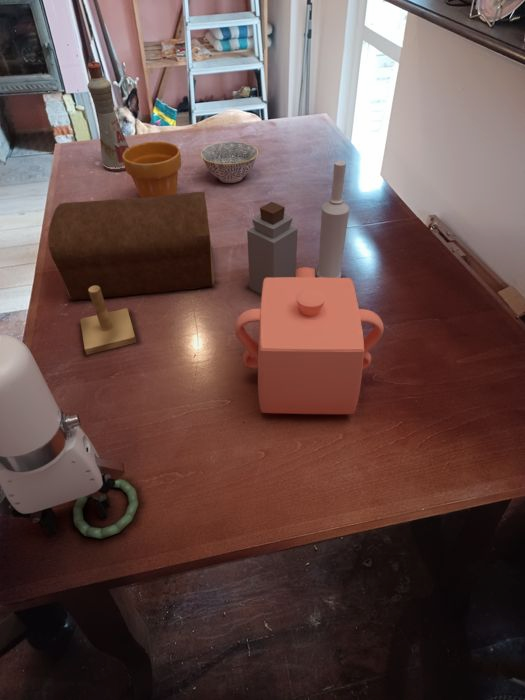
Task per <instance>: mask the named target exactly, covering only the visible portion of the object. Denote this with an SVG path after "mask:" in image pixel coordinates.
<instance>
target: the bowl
mask: <svg viewBox="0 0 525 700" xmlns="http://www.w3.org/2000/svg"><path fill="white" fill-rule="evenodd" d="M199 155H200V157H201V159H202V160H203V162H204V164H205V167H206V168H207V170H208V171H209V173H211V175H213V176H214V177H216V178H217V179H218V180H219V181H220V182H222V183H224V184H225V183H226V184H234V183H235V184H236V183H238V182H241V181H242V180H243V178H244V177H246V176H247V175H249V173H250V172H251V171H252V169H253V167H254V164H255V162H256V159H257V157H258V155H259V150H258V148H257V147H255V146H254V145H252V144H250V143H247V142H241V141H219V142H215V143H211V144H209V145H207V146H205V147H204V148H203V149H201V151H200V153H199Z"/></svg>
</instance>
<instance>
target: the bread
mask: <svg viewBox="0 0 525 700" xmlns="http://www.w3.org/2000/svg"><path fill="white" fill-rule="evenodd" d="M47 239H48V242H47V243H48V250H49V252H50V257H51V259H52V261H53V263H54V265H55V266H56V269H57V270H58V272H59V274H60V276H61V278H62V281H63V283H64V286H65V289H66V292H67V294H68V295H67V296H69V298H70V300H71V301H80V300H81V301H83V300H91V297H90V294H89V291H88V289H89V288H90V287H91V286H99V287H100V289H101V292H102V295H103V298H112V297H124V296H126V297H127V296H134V295H143V294H154V293H155V294H156V293H165V292H166V293H167V292H173V291H180V290H181V291H183V290H193V289H202V288H208V287H210V288H211V287H214V284H215V281H216V278H215V277H216V276H215V268H214V260H213V249H212V241H211V232H210V224H209V215H208V207H207V199H206V193H205V191H193V192H185V193H176V194H175V195H166V196H157V197H146V198H141V197H132V198H124V199H120V198H119V199H117V198H116V199H115V198H114V199H113V198H112V199H103V200H88V201H73V202H62V203H59V204H58V205H57V206H56V208H55V210H54V211H53V214H52V216H51V221H50V223H49V229H48V234H47Z"/></svg>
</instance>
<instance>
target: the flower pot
mask: <svg viewBox="0 0 525 700" xmlns="http://www.w3.org/2000/svg"><path fill="white" fill-rule="evenodd" d="M122 157H123V161H124V165H125V171H126V173H127V174H128V175H129V176H130V177H131V179H132V181H133V184H134V186H135V188H136V190H137V193H138V195H139V198H146V197H157V196H166V195H175V194H178V192H177V191H178V179H179V178H178V177H179V171H180V169H181V167H182V156H181V150H180V148H179V147H178V146H177V145H176V144H173V143H171V142H166V141H146V142H142V143H137V144H135V145H132V146H129V148H128V149H127V150H125V151H124V153H123V155H122Z"/></svg>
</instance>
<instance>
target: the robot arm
mask: <svg viewBox="0 0 525 700" xmlns="http://www.w3.org/2000/svg"><path fill="white" fill-rule="evenodd" d="M80 426H82V425H81V419H80V417H79V414H78V413H76V414H72V415H71V414H66V413H64V412H63V410H62V407H59V405H58V403H57V402H56V399H55V398H54V395H53V393H52V392H51V389H50V387H49V386H48V383H47V382H46V380H45V378H44V375H43V374H42V372H41V369H40V367H39V366H38V363H37V361H36V360H35V357H34V355H33V353H32V352H31V350H30V349H29V347H28V346H27V345H26V344H25V343H24V342H23V341H22V340H20V339H19V338H17V337H15V336H11V335H8V334H3V333H0V488H1V490H2V491H1V492H0V515H2V516H3V515H4V516H10V515H12V517H13V518H19V519H20V518H22V519H29V522H30V523H33V524H34V523H37V524H38V526H39V527H40V529H41V530H43V529H45V531H46V532H47V533H48V535H49V536H50V537H52V536H55V535H56V534H57V519H56V513H55V511H54V509H53V507H56V506H59V505H63V504H66V503H68V502H72V501H75V500H77V499H78V498H81V497H84V496H87V495H89V496H90V497H89V498H92V499H93V504H94V507H95V509H96V510H97V512H98V515H99V516H100V518H101V519H105V518H108V510H107V509H108V508H110V507H111V502H110V501H111V500H110V497H109V495H108V493H109V492H110V491H111V490H112V489H113V488H114V487H113V486H114V485H115V482H116V480H118V479H121V477H123V475H125V473H126V470H125V465H124V463H123V462H119V461H116V460H110V459H105V458H101V457H100V456H99V453H98V451H97V450H96V448H95V446H94V445H93V443H92V442H91V440H90V438H89V437H88V436H87V434H86V433H85V431H84V430H83V429H82V428H81V427H80Z"/></svg>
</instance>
